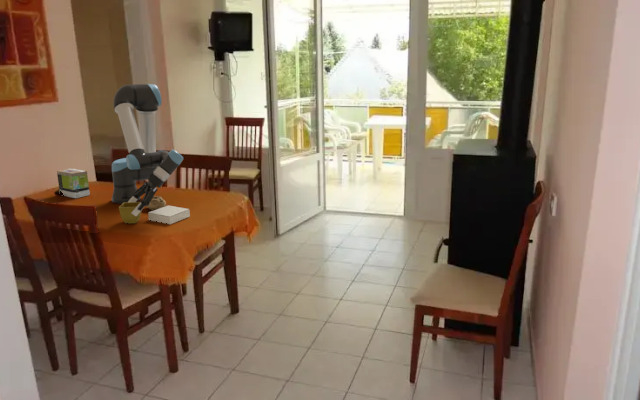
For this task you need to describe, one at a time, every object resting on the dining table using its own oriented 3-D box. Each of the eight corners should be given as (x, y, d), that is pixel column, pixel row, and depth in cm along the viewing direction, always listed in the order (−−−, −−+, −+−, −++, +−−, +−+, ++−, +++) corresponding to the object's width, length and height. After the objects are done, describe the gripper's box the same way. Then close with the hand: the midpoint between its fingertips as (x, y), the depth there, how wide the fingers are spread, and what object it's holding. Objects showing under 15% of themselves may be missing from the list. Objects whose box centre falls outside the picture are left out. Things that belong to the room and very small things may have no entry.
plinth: (148, 220, 250) (148, 212, 249) (168, 212, 262) (168, 205, 261) (170, 224, 244) (169, 216, 243) (189, 216, 256) (189, 209, 255)
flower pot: (125, 219, 251) (123, 202, 248) (143, 219, 252) (141, 201, 249) (120, 225, 242) (118, 207, 240) (138, 224, 243) (137, 206, 241)
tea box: (90, 195, 295) (87, 170, 291) (74, 199, 287) (71, 173, 283) (75, 191, 303) (72, 167, 299) (59, 195, 294) (55, 170, 290)
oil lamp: (158, 214, 260) (157, 199, 258) (139, 209, 268) (138, 195, 265) (174, 209, 268) (173, 194, 266) (156, 204, 276) (155, 190, 274)
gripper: (172, 187, 241) (143, 222, 237) (157, 177, 261) (129, 209, 257) (160, 177, 236) (130, 213, 232) (145, 168, 256) (117, 201, 252)
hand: (130, 211), depth 245 cm, fingers open, 13 cm apart
